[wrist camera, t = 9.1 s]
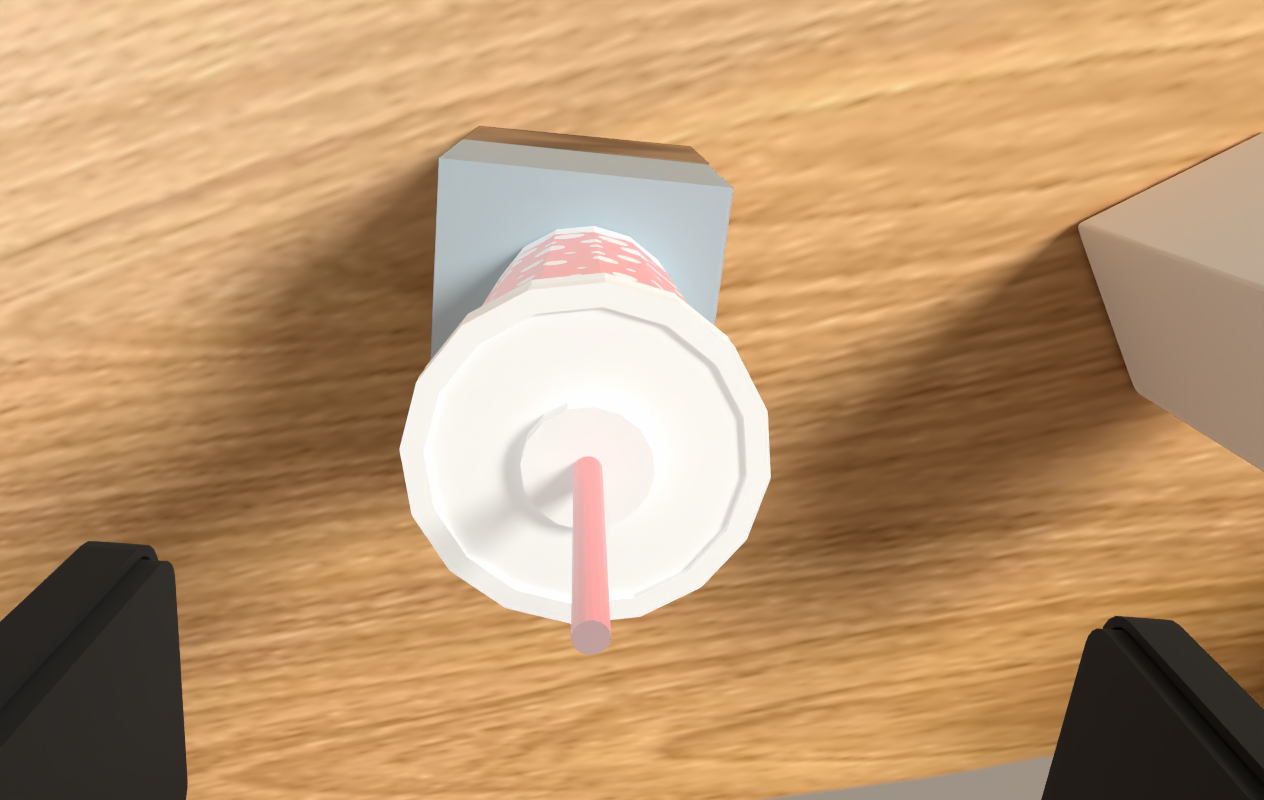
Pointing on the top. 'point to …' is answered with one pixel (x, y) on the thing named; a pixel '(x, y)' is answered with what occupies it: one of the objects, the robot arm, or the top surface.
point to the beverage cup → (585, 439)
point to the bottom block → (587, 144)
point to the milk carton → (1192, 294)
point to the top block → (570, 218)
